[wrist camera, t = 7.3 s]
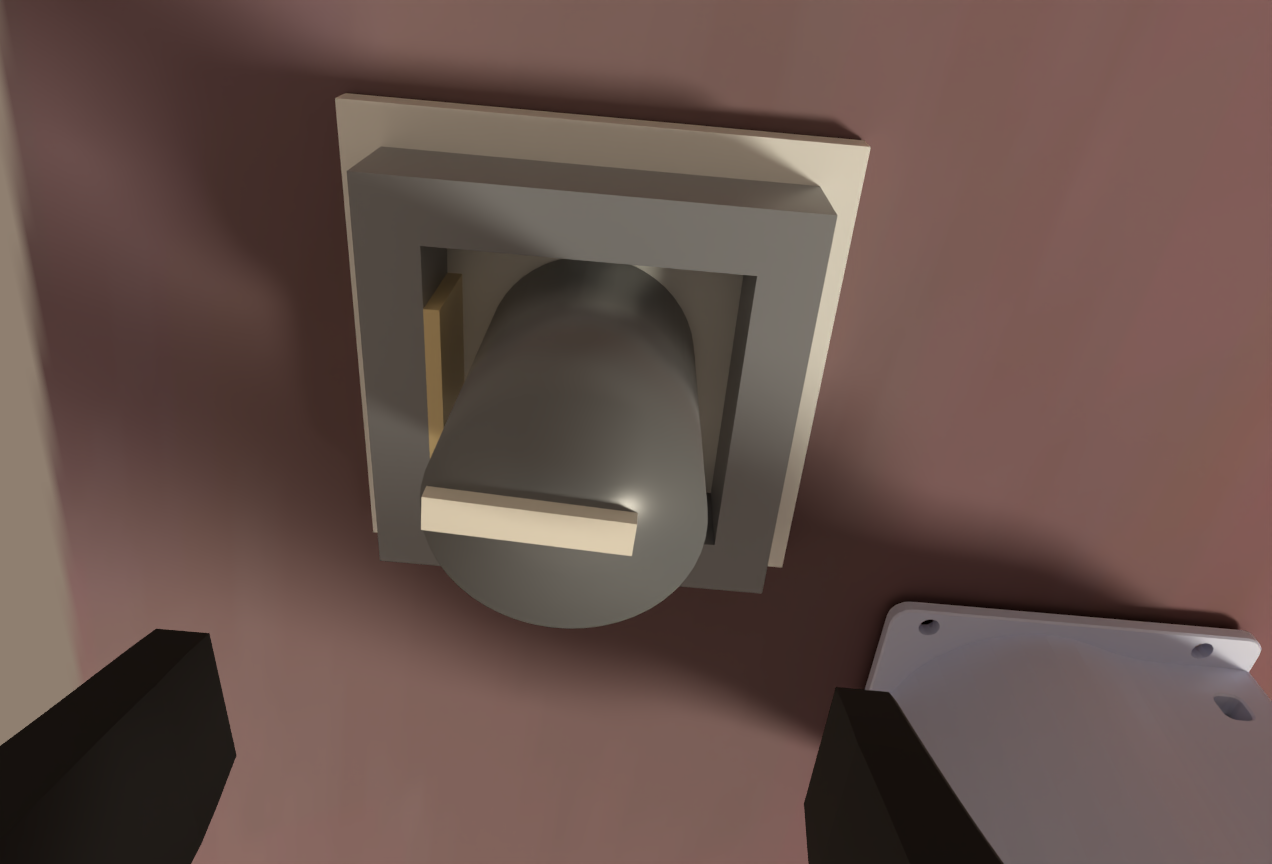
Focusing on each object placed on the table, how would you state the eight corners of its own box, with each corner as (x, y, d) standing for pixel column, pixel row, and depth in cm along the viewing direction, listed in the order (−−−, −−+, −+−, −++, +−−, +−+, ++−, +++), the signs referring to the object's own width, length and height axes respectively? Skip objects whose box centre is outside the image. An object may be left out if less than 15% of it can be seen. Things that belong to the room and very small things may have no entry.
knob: (711, 272, 17) (734, 424, 12) (676, 456, 20) (682, 656, 14) (493, 241, 17) (416, 381, 12) (482, 431, 19) (412, 623, 14)
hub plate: (864, 140, 17) (894, 171, 14) (779, 552, 22) (792, 624, 19) (345, 92, 16) (294, 117, 14) (380, 517, 21) (346, 586, 19)
